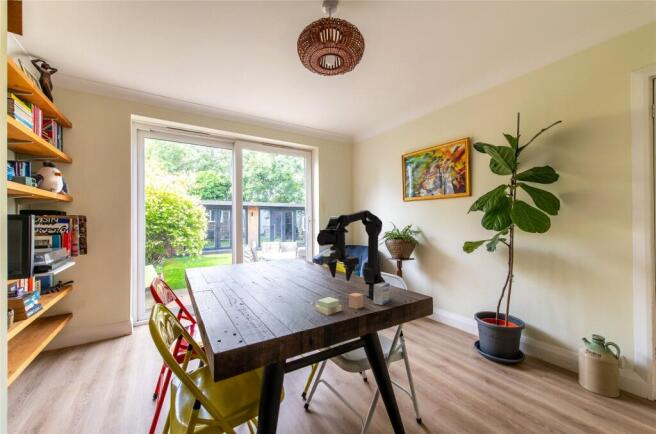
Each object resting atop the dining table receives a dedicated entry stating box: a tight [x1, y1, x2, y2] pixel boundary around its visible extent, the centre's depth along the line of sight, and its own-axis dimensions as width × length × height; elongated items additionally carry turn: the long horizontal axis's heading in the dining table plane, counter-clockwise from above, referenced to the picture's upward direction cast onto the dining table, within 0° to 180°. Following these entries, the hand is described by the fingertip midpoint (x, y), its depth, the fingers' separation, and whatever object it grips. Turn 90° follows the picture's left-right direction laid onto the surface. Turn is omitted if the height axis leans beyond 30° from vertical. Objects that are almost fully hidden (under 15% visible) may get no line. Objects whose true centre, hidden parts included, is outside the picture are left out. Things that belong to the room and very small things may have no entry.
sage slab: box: [317, 296, 340, 309], centre depth 112 cm, size 6×6×2 cm
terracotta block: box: [348, 292, 364, 310], centre depth 116 cm, size 4×4×6 cm
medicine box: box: [373, 281, 391, 306], centre depth 121 cm, size 8×4×9 cm, turn 141°
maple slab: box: [315, 304, 343, 316], centre depth 112 cm, size 8×8×2 cm
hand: (340, 279), depth 113 cm, fingers open, 9 cm apart
